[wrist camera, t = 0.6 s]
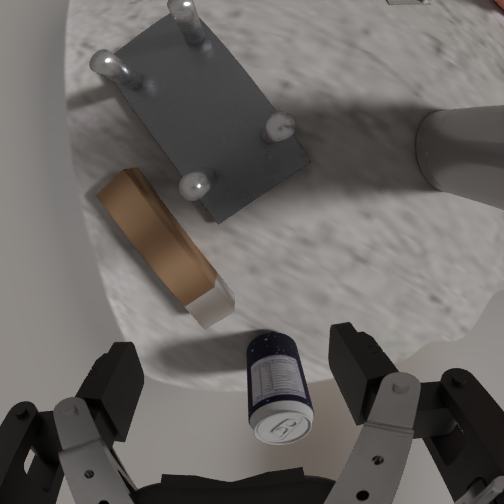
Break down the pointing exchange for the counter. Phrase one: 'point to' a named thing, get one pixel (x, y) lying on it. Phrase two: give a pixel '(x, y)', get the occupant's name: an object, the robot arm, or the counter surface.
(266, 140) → the peg rack
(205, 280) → the brown wooden bar
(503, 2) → the teapot
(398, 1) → the skyscraper
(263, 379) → the beverage can
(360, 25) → the counter surface
